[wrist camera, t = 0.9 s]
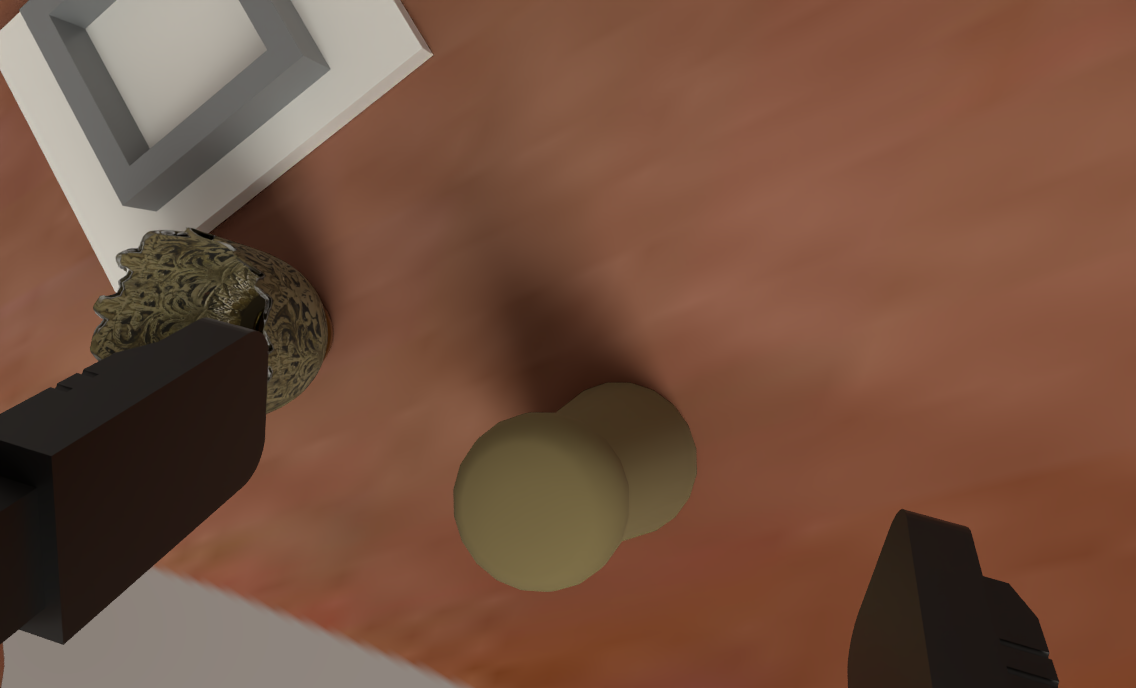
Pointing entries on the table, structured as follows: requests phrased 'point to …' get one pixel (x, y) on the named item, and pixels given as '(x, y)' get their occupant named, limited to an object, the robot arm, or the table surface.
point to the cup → (217, 303)
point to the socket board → (192, 99)
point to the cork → (573, 485)
